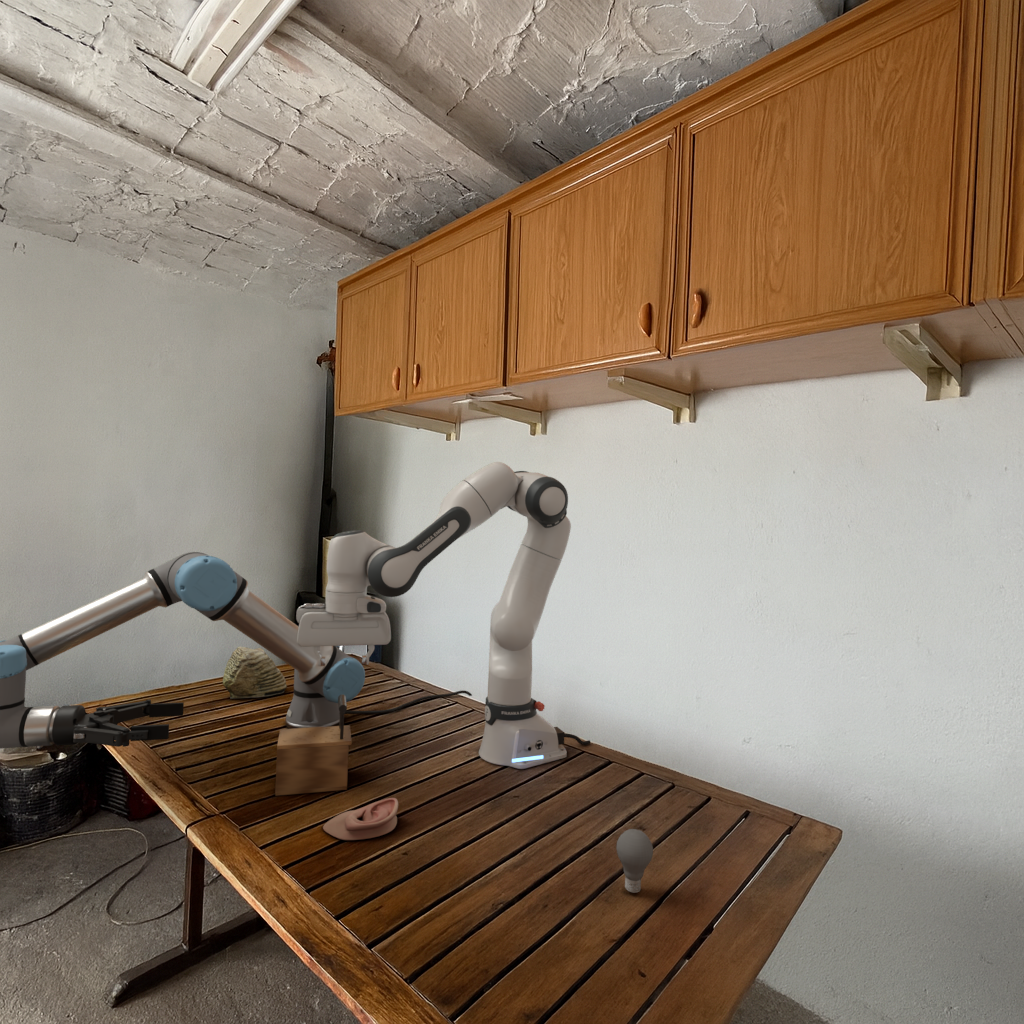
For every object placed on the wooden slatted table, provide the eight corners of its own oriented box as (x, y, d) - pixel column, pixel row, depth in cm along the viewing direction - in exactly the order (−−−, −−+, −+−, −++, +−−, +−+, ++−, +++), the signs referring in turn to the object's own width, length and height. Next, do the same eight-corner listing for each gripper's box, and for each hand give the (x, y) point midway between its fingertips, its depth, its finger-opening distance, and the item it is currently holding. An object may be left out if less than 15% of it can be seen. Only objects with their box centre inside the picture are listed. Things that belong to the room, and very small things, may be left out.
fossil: (218, 695, 195) (220, 647, 195) (278, 685, 208) (279, 640, 207) (228, 703, 189) (230, 653, 188) (289, 692, 201) (290, 645, 201)
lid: (349, 728, 147) (351, 692, 147) (351, 744, 137) (352, 706, 137) (280, 732, 142) (281, 695, 142) (277, 749, 133) (278, 709, 133)
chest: (345, 771, 147) (347, 729, 147) (346, 789, 137) (348, 745, 137) (278, 776, 143) (280, 733, 142) (275, 795, 133) (277, 749, 133)
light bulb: (610, 879, 108) (613, 822, 108) (644, 879, 109) (647, 822, 109) (619, 902, 102) (622, 840, 102) (655, 901, 103) (658, 840, 103)
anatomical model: (315, 814, 118) (343, 787, 129) (314, 835, 118) (343, 807, 129) (382, 825, 115) (405, 796, 127) (381, 846, 116) (404, 816, 127)
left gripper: (80, 722, 138) (187, 717, 144) (29, 770, 114) (160, 762, 120) (81, 688, 138) (189, 684, 144) (30, 729, 114) (162, 722, 120)
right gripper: (296, 605, 135) (293, 670, 135) (393, 605, 141) (390, 667, 141) (297, 601, 141) (295, 662, 141) (390, 600, 147) (387, 659, 147)
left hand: (176, 719), depth 132 cm, fingers open, 13 cm apart
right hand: (343, 664), depth 141 cm, fingers open, 8 cm apart
